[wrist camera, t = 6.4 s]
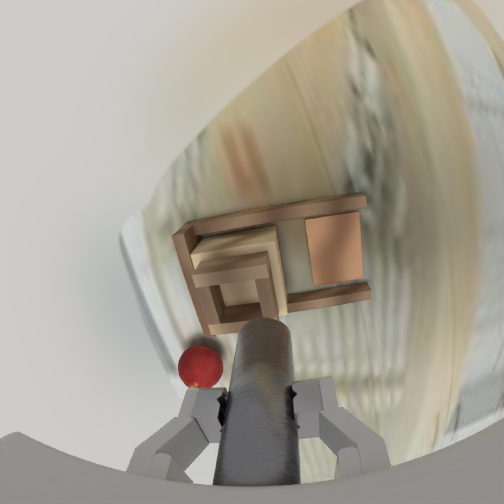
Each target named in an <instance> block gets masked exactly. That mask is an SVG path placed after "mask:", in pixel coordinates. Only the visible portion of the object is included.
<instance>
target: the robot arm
mask: <svg viewBox="0 0 504 504" xmlns="http://www.w3.org/2000/svg"><path fill="white" fill-rule="evenodd" d="M292 388H293V397H294V399H293V404H294V417H295V421H296V423H297V425H298V437H299V439H304V438H313V437H320V439H321V440H322V441H323V442H324V443H325V444H326V445H327V446H328V447H329V448H330V449H331V450H332V452H333V453H334V454H335V455H336V456H337V463H336V470H335V477H334V478H335V479H334V480H327V481H320V482H313V483H304V484H294V485H280V486H217V485H203V484H193V481H192V480H191V479H190V478H189V477H188V476H187V474H186V473H185V472H184V471H185V470H186V469H187V468H188V467H189V466H190V464H191V463H192V462H193V461H194V460H195V459H196V458H197V457H198V456H199V455H200V454H201V452H202V451H203V450H204V449H205V448H206V447H207V446H208V445H209V443H220V438H221V433H222V427H223V421H224V415H225V409H226V404H227V397H228V392H227V390H226V388H188V389H187V391H186V394H185V397H184V400H183V403H182V406H181V409H180V413H179V415H178V417H174V418H173V419H172V420H171V421H169V422H168V423H167V424H166V425H164V426H163V427H162V428H161V429H159V430H158V431H157V432H156V433H154V434H153V435H152V436H151V437H149V438H148V439H147V440H146V441H144V442H143V443H141V444H140V445H139V446H138V447H136V448H135V450H134V453H133V456H132V458H131V461H130V464H129V466H128V468H127V471H126V472H124V471H120V470H117V469H113V468H109V467H106V466H102V465H99V464H96V463H93V462H90V461H87V460H84V459H81V458H78V457H75V456H72V455H70V454H67V453H64V452H62V451H59V450H57V449H55V448H52V447H50V446H48V445H45V444H43V443H41V442H39V441H36V440H34V439H32V438H30V437H28V436H26V435H24V434H22V433H20V432H14V433H11V434H8V435H6V436H4V437H2V438H0V504H504V418H502V419H501V420H499V421H497V422H495V423H494V424H492V425H490V426H488V427H486V428H485V429H483V430H481V431H479V432H477V433H475V434H473V435H471V436H469V437H467V438H465V439H463V440H461V441H459V442H456V443H454V444H452V445H450V446H447V447H445V448H443V449H440V450H438V451H435V452H433V453H430V454H427V455H425V456H422V457H419V458H416V459H413V460H411V461H407V462H404V463H401V464H398V465H395V466H391V464H390V460H389V456H388V453H387V449H386V445H385V442H384V439H383V438H382V437H381V436H379V435H378V434H377V433H375V432H374V431H373V430H371V429H370V428H369V427H367V426H366V425H365V424H363V423H362V422H361V421H360V420H358V419H357V418H356V417H354V416H353V415H352V414H351V413H349V412H348V411H347V410H346V409H344V408H343V407H338V402H337V398H336V393H335V388H334V384H333V379H332V377H331V376H328V377H322V378H315V379H309V380H302V381H295V382H292Z"/></svg>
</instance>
